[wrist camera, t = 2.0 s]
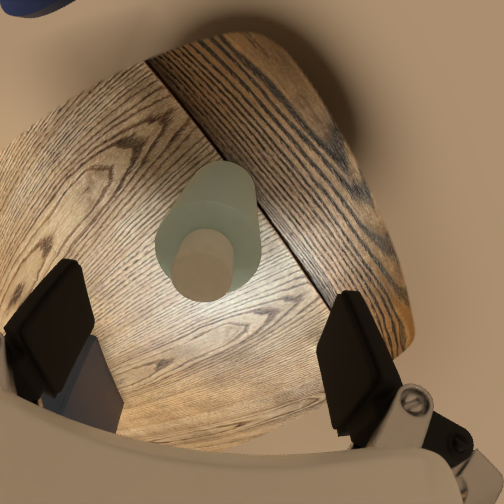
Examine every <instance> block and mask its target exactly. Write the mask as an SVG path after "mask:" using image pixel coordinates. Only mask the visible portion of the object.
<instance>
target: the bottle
mask: <svg viewBox="0 0 504 504" xmlns="http://www.w3.org/2000/svg"><path fill="white" fill-rule="evenodd" d="M155 251H156V256H157V259H158V262H159V264H160V266H161V268H162V269H163V271H164V272H165V274H166V275H167V276H168V277H169V278H170V279H171V280H172V283H173V285H174V287H175V288H176V290H177V291H178V292H179V293H180V294H182V295H183V296H184V297H186V298H188V299H190V300H193V301H197V302H211V301H215V300H218V299H220V298H221V297H223V296H224V295H225V294H226V293H228V292H231V291H234V290H236V289H238V288H240V287H241V286H243V285H244V284H245V283H246V282H248V281H249V280H250V278H251V277H252V276H253V275H254V273H255V272H256V270H257V268H258V266H259V263H260V260H261V239H260V229H259V220H258V210H257V201H256V191H255V185H254V182H253V180H252V178H251V176H250V175H249V173H248V172H247V171H246V170H245V169H244V168H242V167H241V166H239V165H237V164H235V163H233V162H229V161H214V162H211V163H208V164H206V165H204V166H202V167H201V168H200V169H199V170H198V171H197V172H196V173H195V174H194V175H193V177H192V178H191V180H190V181H189V182H188V184H187V185H186V187H185V188H184V190H183V191H182V192H181V194H180V195H179V197H178V198H177V200H176V201H175V203H174V204H173V206H172V207H171V209H170V210H169V212H168V213H167V215H166V216H165V218H164V219H163V221H162V222H161V224H160V226H159V228H158V231H157V234H156V238H155Z"/></svg>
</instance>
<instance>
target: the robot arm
mask: <svg viewBox="0 0 504 504" xmlns="http://www.w3.org/2000/svg"><path fill="white" fill-rule="evenodd" d="M94 323H95V320H94V316H93V312H92V309H91V305H90V301H89V297H88V293H87V289H86V285H85V281H84V276H83V272H82V268H81V266H80V265H79V264H78V262H77V261H76V260H71V259H65V258H64V259H62V260H60V261H59V262H58V264H57V265H56V266H55V267H54V268H53V269H52V270H51V271H50V272H49V273H48V274H47V275H46V277H45V278H44V279H43V280H42V281H41V282H40V283H39V284H38V286H37V287H36V288H35V289H34V290H33V291H32V293H31V294H30V295H29V296H28V297H27V299H26V300H25V301H24V302H23V303H22V305H21V306H20V307H19V308H18V310H17V311H16V312H15V313H14V315H13V316H12V317H11V319H10V320H9V321H8V323H7V324H6V325H5V327H4V330H5V332H6V335H5V336H3V334H2V333H1V332H0V504H495V502H496V500H497V499H498V497H499V495H500V493H501V491H502V488H503V483H504V482H503V476H502V474H501V473H500V472H499V471H498V469H497V468H495V466H494V465H493V464H492V463H491V462H490V461H489V460H488V459H487V458H486V457H485V456H484V455H483V454H482V453H481V452H480V451H479V450H478V449H475V450H473V447H474V444H473V439H472V436H471V435H470V433H469V432H468V431H467V430H466V429H465V428H463V427H461V426H459V425H458V424H456V423H454V422H452V421H450V420H448V419H447V418H445V417H443V416H442V415H440V414H438V413H436V412H435V411H433V408H434V403H433V399H432V397H431V395H430V393H429V392H428V391H427V390H426V389H424V388H423V387H421V386H420V385H416V384H410V383H409V384H405V385H403V384H402V382H401V379H400V376H399V374H398V371H397V369H396V367H395V365H394V362H393V360H392V358H391V356H390V353H389V351H388V349H387V347H386V345H385V342H384V340H383V338H382V336H381V334H380V332H379V330H378V328H377V325H376V323H375V321H374V319H373V317H372V315H371V313H370V311H369V309H368V307H367V305H366V303H365V301H364V299H363V297H362V295H361V293H360V292H359V291H348V290H344V291H343V292H342V293H341V294H338V295H337V296H336V299H335V302H334V304H333V307H332V309H331V312H330V315H329V317H328V320H327V322H326V325H325V327H324V330H323V332H322V335H321V337H320V340H319V342H318V345H317V349H316V353H317V358H318V363H319V367H320V372H321V376H322V381H323V385H324V390H325V394H326V399H327V404H328V408H329V414H330V418H331V423H332V427H333V429H337V433H338V437H339V436H347V435H350V437H351V441H352V443H351V445H350V446H349V448H348V450H344V451H335V452H324V453H311V454H289V455H248V454H230V453H218V452H207V451H199V450H191V449H184V448H177V447H171V446H166V445H160V444H155V443H151V442H146V441H141V440H137V439H133V438H129V437H125V436H121V435H118V434H114V433H111V432H107V431H104V430H101V429H97V428H94V427H91V426H88V425H85V424H82V423H80V422H77V421H74V420H71V419H69V418H66V417H64V416H61V415H59V414H56V413H54V412H52V411H49V410H47V409H45V408H44V407H43V404H42V400H41V395H42V393H44V395H47V396H49V397H51V398H54V399H55V398H56V396H57V394H58V393H60V392H61V391H62V390H63V387H64V385H65V383H66V381H67V379H68V377H69V374H70V372H71V370H72V368H73V366H74V364H75V362H76V360H77V358H78V356H79V354H80V352H81V350H82V348H83V346H84V344H85V342H86V341H87V339H88V337H89V335H90V333H91V331H92V329H93V327H94Z"/></svg>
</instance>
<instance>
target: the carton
mask: <svg viewBox="0 0 504 504" xmlns="http://www.w3.org/2000/svg"><path fill="white" fill-rule="evenodd" d="M41 400H42V404H43V407H44V408H45V409H47V410H49V411H52V412H54V413H56V414H59V415H61V416H64V417H66V418H69V419H71V420H74V421H77V422H80V423H82V424H85V425H88V426H91V427H94V428H97V429H101V430H104V431H107V432H111V433H114V434H116V430H117V426H118V423H119V419H120V415H121V412H122V408H123V404H124V403H123V401H122V398H121V396H120V394H119V392H118V390H117V388H116V385H115V383H114V381H113V378H112V376H111V374H110V371H109V369H108V366H107V364H106V361H105V359H104V356H103V354H102V351H101V348H100V346H99V343H98V340H97V337H96V336H92V335H89V337H88V339H87V341H86V342H85V344H84V346H83V348H82V350H81V352H80V354H79V356H78V358H77V360H76V362H75V364H74V366H73V368H72V370H71V372H70V374H69V377H68V379H67V381H66V383H65V385H64V387H63V390H62V391H61V392H60V393H58V394H57V396H56V398H55V399H54V398H51V397H49V396H47V395H44V393H42V395H41Z"/></svg>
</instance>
